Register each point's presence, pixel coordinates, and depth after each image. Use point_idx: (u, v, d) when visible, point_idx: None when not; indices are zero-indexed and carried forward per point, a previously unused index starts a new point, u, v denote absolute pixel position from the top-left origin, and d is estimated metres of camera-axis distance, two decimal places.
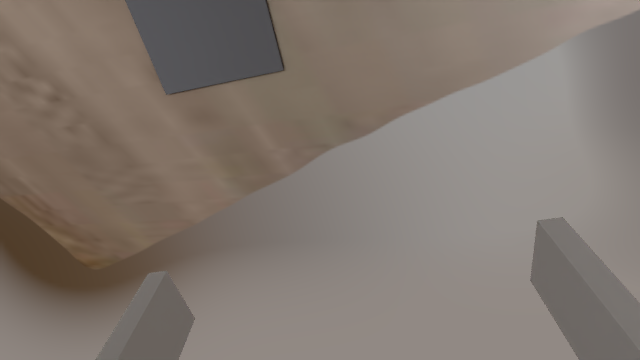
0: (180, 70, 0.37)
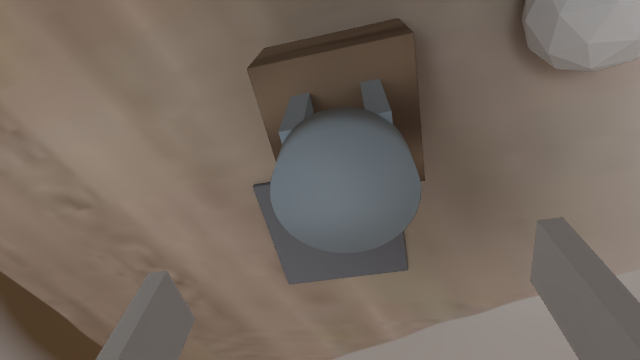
0: (307, 268, 0.38)
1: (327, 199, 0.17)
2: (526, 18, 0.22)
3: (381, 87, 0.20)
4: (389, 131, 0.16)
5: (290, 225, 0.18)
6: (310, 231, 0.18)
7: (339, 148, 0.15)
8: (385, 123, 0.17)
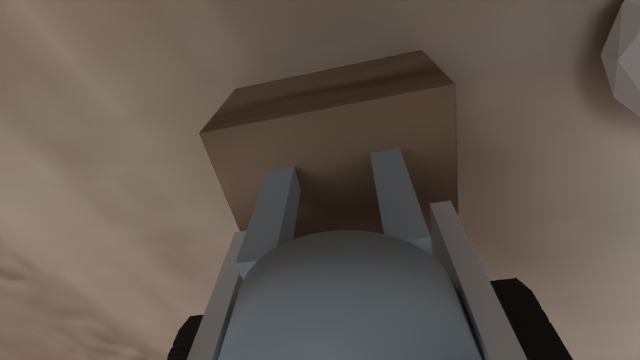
0: None
1: None
2: (620, 57, 0.14)
3: (404, 169, 0.13)
4: (431, 290, 0.09)
5: None
6: None
7: (339, 334, 0.08)
8: (421, 265, 0.09)
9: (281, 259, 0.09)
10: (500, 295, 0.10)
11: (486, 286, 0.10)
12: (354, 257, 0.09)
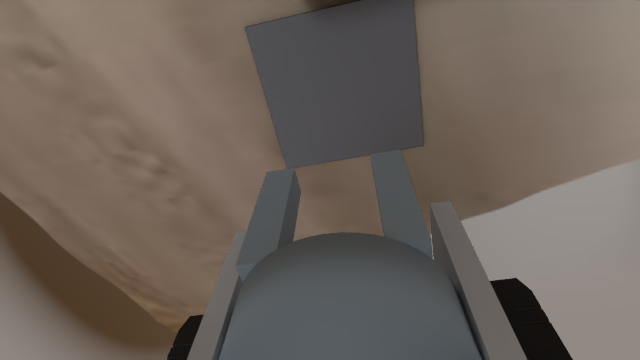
0: (308, 145, 0.33)
1: None
2: None
3: (405, 170, 0.13)
4: (432, 293, 0.09)
5: None
6: None
7: (339, 338, 0.08)
8: (422, 267, 0.09)
9: (281, 261, 0.09)
10: (500, 295, 0.10)
11: (486, 286, 0.10)
12: (354, 260, 0.09)
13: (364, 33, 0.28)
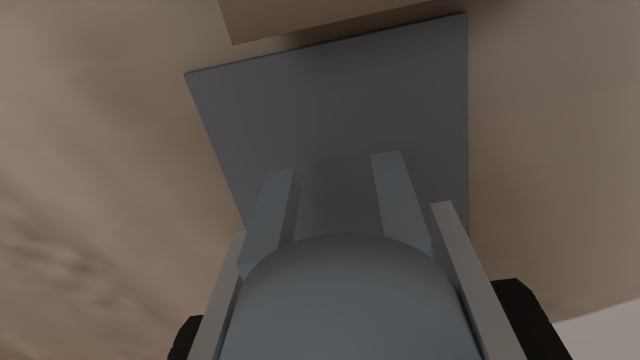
0: (293, 240, 0.22)
1: None
2: None
3: (405, 171, 0.13)
4: (432, 292, 0.09)
5: None
6: None
7: (339, 337, 0.08)
8: (422, 267, 0.09)
9: (281, 261, 0.09)
10: (500, 295, 0.10)
11: (486, 286, 0.10)
12: (354, 260, 0.09)
13: (381, 84, 0.17)
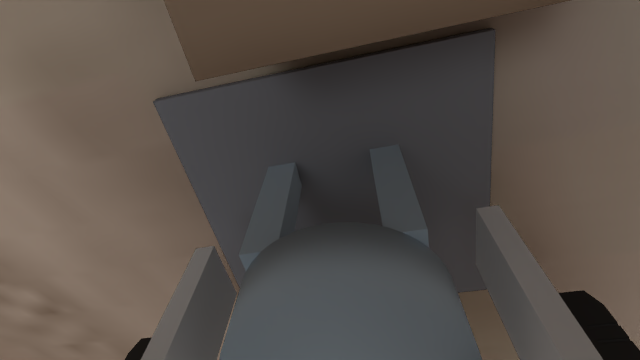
0: None
1: None
2: None
3: (403, 164, 0.13)
4: (428, 278, 0.09)
5: None
6: None
7: (339, 320, 0.08)
8: (419, 255, 0.10)
9: (283, 250, 0.10)
10: (569, 310, 0.09)
11: (557, 300, 0.09)
12: (354, 247, 0.09)
13: (389, 114, 0.14)
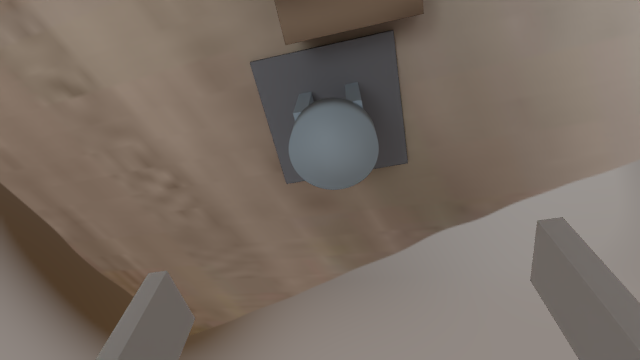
0: None
1: (323, 152, 0.28)
2: None
3: (357, 87, 0.31)
4: (359, 110, 0.27)
5: (300, 170, 0.29)
6: (312, 174, 0.29)
7: (329, 120, 0.26)
8: (357, 106, 0.28)
9: (310, 106, 0.28)
10: None
11: None
12: (334, 101, 0.27)
13: (352, 67, 0.32)
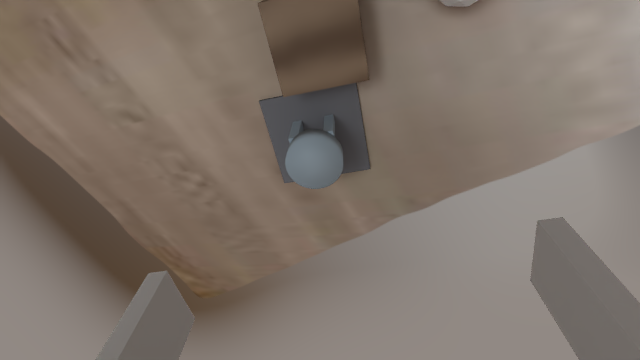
0: None
1: (307, 165, 0.43)
2: None
3: (332, 119, 0.46)
4: (330, 138, 0.42)
5: (293, 176, 0.44)
6: (301, 178, 0.44)
7: (311, 145, 0.42)
8: (329, 135, 0.43)
9: (299, 134, 0.43)
10: None
11: None
12: (315, 132, 0.42)
13: (329, 105, 0.47)
